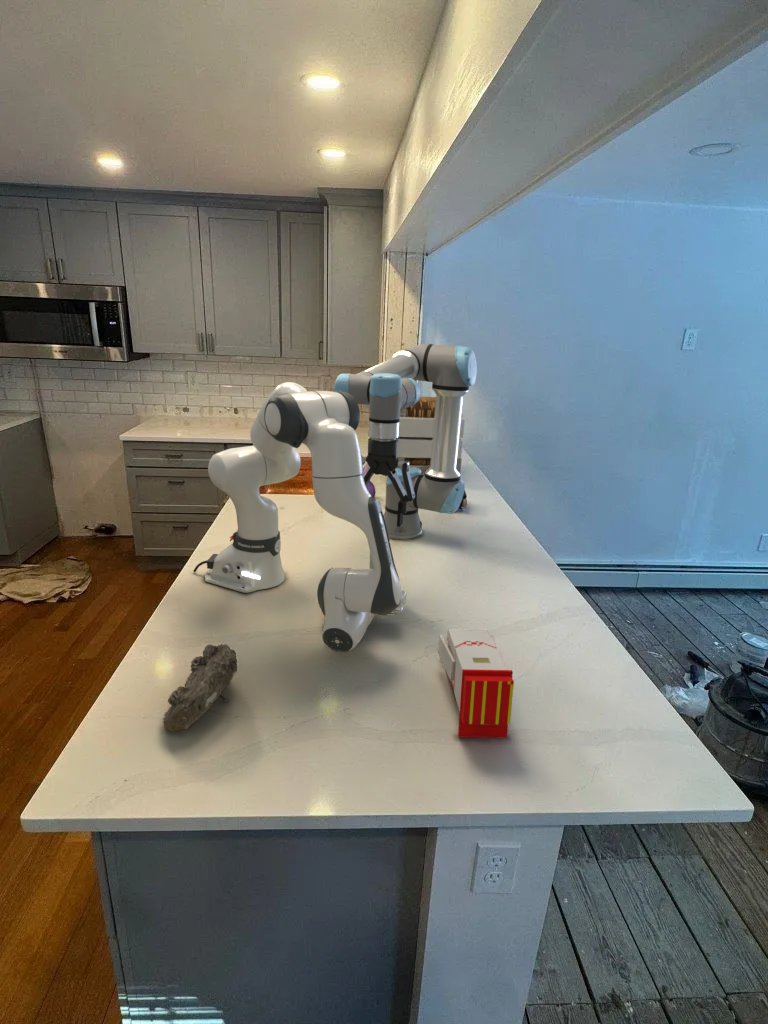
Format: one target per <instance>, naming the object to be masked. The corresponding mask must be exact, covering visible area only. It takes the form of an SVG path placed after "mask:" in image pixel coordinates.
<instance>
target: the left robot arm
mask: <svg viewBox="0 0 768 1024" xmlns="http://www.w3.org/2000/svg"><path fill="white" fill-rule="evenodd" d="M360 419H361V411H360V407H359V404H357V401H356V400H355V398H354V397H353V396H352V395H350V394H348V393H345V392H341V391H335V390H333V391H330V390H329V391H328V390H309V391H308V390H307V389H306V388H305V387H304V386H303V385H301V384H299V383H296V382H293V381H286V382H282V383H280V384H278V385H277V386H276V387H275V388H274V389H273V390H272V391H271V393H269V395H268V396H267V398H266V399H265V401H264V402H263V404H262V406H261V408H260V409H259V411H258V413H257V415H256V417H255V420H254V422H253V424H252V426H251V428H250V430H249V431H250V432H249V433H250V435H249V436H250V441H251V443H252V445H247V446H239V447H232V448H228V449H224V450H222V451H219V452H217V453H214V454H212V456H211V457H210V459H209V462H208V465H207V466H208V467H207V473H208V477H209V480H210V481H211V483H212V484H213V486H215V487H216V488H217V489H218V490H220V491H222V492H223V493H224V494H226V496H228V497H229V498H230V500H231V502H232V503H233V506H234V509H235V515H236V524H237V530H236V531H235V532H233V533H232V534H231V536H229V542H232V543H231V544H230V545H228V546H227V547H226V548H224V549H223V550H221V551H220V552H219V553H213V554H211V555H210V557H209V558H208V559H207V560H204V561H203V560H202V561H201V562H199V563H198V564H196V565H195V568H194V569H193V570H192V571H193V573H196V572H197V571H198V569H199V567H201V566H202V565H206V569H208V571H207V572H206V573H205V575H204V581H205V582H206V583H209V584H213V585H216V586H220V587H222V588H227V589H230V590H233V591H237V592H240V593H244V594H248V593H252V592H255V591H260V590H267V589H272V588H274V587H277V586H280V585H281V584H282V583H283V582H284V581H285V580H286V574H285V571H284V568H283V564H282V559H281V545H282V544H281V543H282V541H281V532H280V530H279V508H278V506H277V504H276V503H275V502H274V501H273V500H271V498H268V497H266V496H262V495H261V492H260V487H263V486H269V485H275V484H279V483H283V482H286V481H288V480H291V479H293V478H294V477H296V476H298V474H299V472H300V471H301V465H302V461H301V456H300V453H299V451H298V450H297V449H299V448H300V447H301V445H302V444H303V445H305V447H306V448H307V449H308V450H309V453H310V457H311V479H312V480H311V481H312V490H313V497H314V498H315V499H314V500H315V501H316V502H317V504H318V505H319V506H320V508H321V509H322V510H324V512H326V513H328V514H330V515H332V516H333V517H335V518H338V519H340V520H343V521H346V522H348V523H350V524H352V525H354V526H356V527H357V528H359V529H360V530H361V531H362V532H363V533H364V535H365V537H366V540H367V544H368V548H369V549H368V550H369V555H370V554H371V558H372V563H373V567H374V569H369V568H353V567H331V568H329V569H328V570H326V571H325V573H324V574H323V576H322V577H321V578H320V580H319V583H318V585H317V592H316V593H317V594H316V598H317V602H318V603H317V604H318V606H319V609H320V610H321V613H322V614H323V616H324V624H323V628H322V632H321V639H322V642H323V644H324V645H325V646H326V647H327V648H329V649H330V650H331V651H334V652H339V653H348V652H350V651H352V650H353V649H355V648H356V647H357V646H358V644H359V643H360V642H361V640H362V639H363V637H364V635H365V634H366V632H367V630H368V627H369V626H370V625H371V623H372V622H373V619H374V617H375V616H376V615H377V616H379V615H380V616H388V615H391V616H392V615H397V614H401V613H402V612H403V610H404V607H405V605H406V603H407V592H406V591H405V590H403V589H402V584H401V581H400V576H399V573H398V569H397V567H396V564H395V560H394V556H393V551H392V546H391V542H390V538H389V536H388V532H387V527H386V523H385V519H384V511H383V509H382V506H381V504H380V501H379V500H378V498H376V497H375V498H374V497H372V496H371V495H370V493H369V492H368V490H367V488H366V485H365V482H364V478H363V468H364V464H363V465H362V457H361V455H362V451H361V446H360V441H359V438H358V435H357V432H356V430H357V428H358V426H359V423H360Z"/></svg>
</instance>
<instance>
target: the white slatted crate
mask: <svg viewBox="0 0 768 1024" xmlns="http://www.w3.org/2000/svg"><path fill="white" fill-rule="evenodd" d="M435 404H436V396H420V398H419V400H418V401H417V403H415V404H414V405H413V406H411V407H408V408H405V409H401V410H400V418H399V437H398V438H396V439H397V440H398V459H399V461H403V462H406V461H409V462H410V467H417V466H418V467H430V464H431V452H432V440H433V428H434V416H435ZM464 429H465V419H464V418H463V412H462V413H461V423H460V434H459V444H458V454H457V464H456V470H457V471H458V472H459V473H460V475H461V472H462V461H463V460H462V453H463V442H464V441H463V440H462V439H463V438H464V431H465V430H464ZM397 468H400V467H399V466H397V467H396V468H395V469H397Z"/></svg>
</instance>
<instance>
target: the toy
mask: <svg viewBox="0 0 768 1024" xmlns="http://www.w3.org/2000/svg"><path fill="white" fill-rule="evenodd" d="M446 640H447V643H446V641H445V639H444V636H443V635H442V634H439V637H438V646H437V656H438V657H439V659H440V661H441V663H442V666H443V668H444V670H445V672H446V674H447V677H448V679H449V681H450V684H451V687H452V690H453V693H454V697H455V701H456V705H457V708H458V711H459V714H458V715H459V716H458V730H457V731H458V732H457V737H458V738H508V731H509V726H510V725H511V717H512V707H513V697H514V696H513V695H514V684H515V680H514V679H513V673H514V671H513V670H512V669H508V667H507V665H506V662H505V661H504V659H503V658H502V655H501V653H500V651H499V649H498V647H497V643H496V639H495V637H494V635H493V634H491V632H490V631H489V629H467V628H466V629H465V628H463V629H461V628H460V629H459V628H448V630H447V639H446Z"/></svg>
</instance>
